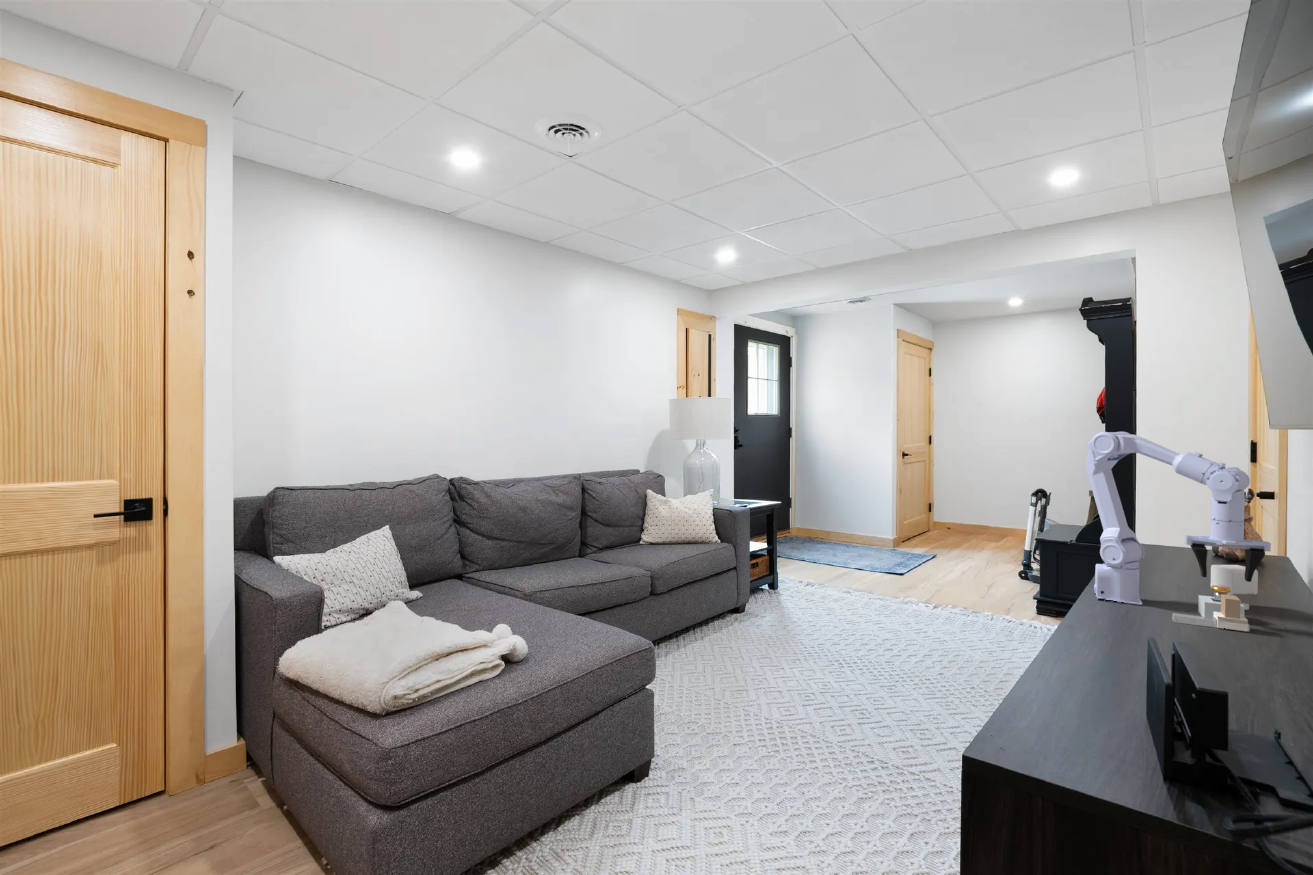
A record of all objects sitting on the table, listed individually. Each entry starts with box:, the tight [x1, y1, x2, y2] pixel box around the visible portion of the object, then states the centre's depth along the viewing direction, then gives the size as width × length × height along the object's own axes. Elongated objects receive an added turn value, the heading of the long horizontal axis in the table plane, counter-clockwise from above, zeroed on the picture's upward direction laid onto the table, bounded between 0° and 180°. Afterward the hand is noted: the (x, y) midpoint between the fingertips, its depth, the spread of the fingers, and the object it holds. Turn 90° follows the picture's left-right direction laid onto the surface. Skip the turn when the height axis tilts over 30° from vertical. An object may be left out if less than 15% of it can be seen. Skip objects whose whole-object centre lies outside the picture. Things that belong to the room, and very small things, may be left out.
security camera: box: [1210, 564, 1259, 611], centre depth 157 cm, size 6×7×10 cm
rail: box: [1171, 612, 1250, 633], centre depth 143 cm, size 13×2×2 cm, turn 58°
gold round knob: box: [1210, 585, 1231, 602], centre depth 149 cm, size 3×3×4 cm
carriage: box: [1213, 594, 1249, 632], centre depth 141 cm, size 5×4×7 cm
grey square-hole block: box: [1197, 594, 1245, 618], centre depth 149 cm, size 7×7×4 cm
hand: (1225, 578), depth 144 cm, fingers open, 7 cm apart
